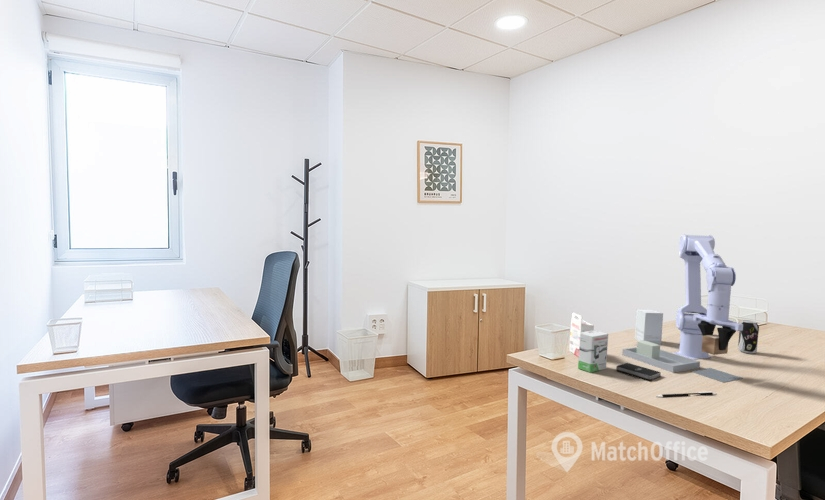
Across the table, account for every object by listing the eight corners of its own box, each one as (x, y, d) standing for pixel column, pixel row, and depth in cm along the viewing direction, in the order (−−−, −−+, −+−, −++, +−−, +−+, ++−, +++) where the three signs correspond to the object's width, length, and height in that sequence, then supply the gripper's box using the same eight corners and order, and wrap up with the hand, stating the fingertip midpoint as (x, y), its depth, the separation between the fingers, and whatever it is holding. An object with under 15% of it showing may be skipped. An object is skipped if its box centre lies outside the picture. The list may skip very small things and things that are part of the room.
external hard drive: (650, 383, 132) (650, 376, 132) (614, 372, 141) (615, 366, 141) (661, 378, 137) (661, 372, 136) (626, 368, 146) (626, 362, 145)
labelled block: (701, 351, 140) (702, 335, 140) (714, 349, 142) (716, 333, 142) (713, 354, 137) (715, 338, 136) (727, 353, 139) (728, 337, 138)
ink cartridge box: (592, 358, 154) (595, 316, 153) (579, 358, 154) (581, 316, 153) (581, 350, 163) (583, 311, 162) (568, 350, 162) (570, 311, 161)
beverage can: (740, 353, 166) (743, 321, 165) (735, 349, 171) (738, 318, 170) (759, 355, 164) (761, 323, 163) (753, 351, 169) (756, 320, 168)
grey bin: (647, 352, 163) (648, 345, 163) (699, 369, 146) (700, 361, 146) (622, 355, 158) (622, 349, 158) (672, 373, 140) (673, 366, 140)
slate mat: (710, 369, 146) (710, 367, 146) (743, 379, 137) (743, 378, 137) (690, 372, 142) (690, 371, 142) (723, 383, 133) (723, 382, 133)
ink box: (590, 373, 139) (592, 336, 138) (577, 368, 143) (579, 332, 142) (606, 368, 143) (609, 333, 143) (593, 364, 148) (595, 329, 147)
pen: (717, 396, 124) (717, 392, 124) (657, 398, 121) (657, 394, 120) (714, 394, 125) (715, 390, 125) (654, 397, 121) (655, 393, 121)
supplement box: (661, 344, 175) (664, 313, 174) (642, 344, 175) (645, 312, 174) (651, 339, 182) (654, 309, 181) (633, 339, 182) (635, 308, 181)
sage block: (644, 354, 159) (645, 340, 159) (659, 359, 154) (660, 345, 154) (636, 355, 158) (637, 341, 157) (651, 360, 152) (652, 346, 152)
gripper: (687, 301, 144) (684, 342, 145) (732, 310, 130) (729, 355, 131) (703, 300, 146) (700, 340, 147) (749, 309, 133) (745, 353, 134)
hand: (714, 347), depth 139 cm, fingers closed on labelled block, 4 cm apart
